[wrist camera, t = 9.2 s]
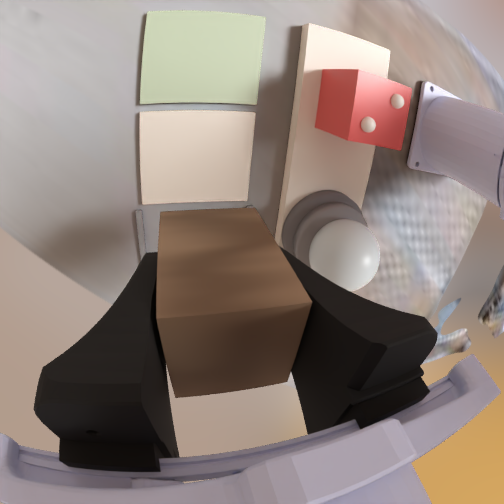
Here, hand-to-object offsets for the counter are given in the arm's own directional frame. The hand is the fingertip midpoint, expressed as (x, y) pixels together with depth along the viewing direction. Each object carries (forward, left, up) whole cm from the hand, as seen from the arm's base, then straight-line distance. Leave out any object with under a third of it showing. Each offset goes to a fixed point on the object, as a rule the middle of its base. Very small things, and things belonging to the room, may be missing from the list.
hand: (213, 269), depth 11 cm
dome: (-9, +3, -6) cm, 11 cm away
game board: (-4, -2, -8) cm, 10 cm away
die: (-9, -7, -8) cm, 14 cm away
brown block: (0, 0, -2) cm, 2 cm away
